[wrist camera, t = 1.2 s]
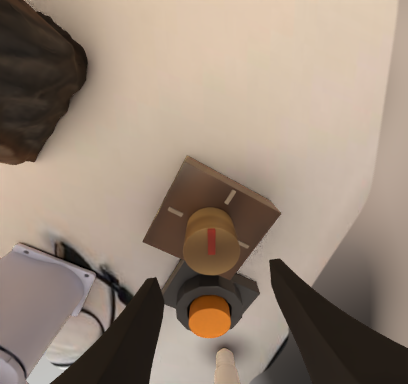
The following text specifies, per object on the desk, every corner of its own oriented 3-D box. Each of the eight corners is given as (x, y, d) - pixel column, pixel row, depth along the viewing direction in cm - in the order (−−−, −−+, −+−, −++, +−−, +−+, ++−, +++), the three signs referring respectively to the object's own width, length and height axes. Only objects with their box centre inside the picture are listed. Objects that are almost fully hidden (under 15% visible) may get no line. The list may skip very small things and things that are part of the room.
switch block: (160, 291, 25) (154, 317, 21) (186, 249, 22) (183, 271, 19) (227, 317, 26) (230, 345, 23) (257, 281, 24) (265, 306, 21)
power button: (182, 314, 22) (181, 330, 20) (201, 288, 20) (201, 302, 19) (216, 327, 22) (217, 343, 21) (236, 302, 21) (239, 318, 20)
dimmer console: (150, 226, 21) (141, 242, 18) (187, 155, 19) (184, 161, 16) (226, 261, 23) (230, 281, 20) (270, 200, 20) (282, 214, 17)
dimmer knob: (232, 247, 19) (239, 277, 15) (187, 248, 19) (183, 279, 15) (234, 206, 17) (242, 229, 14) (185, 207, 17) (180, 230, 14)
